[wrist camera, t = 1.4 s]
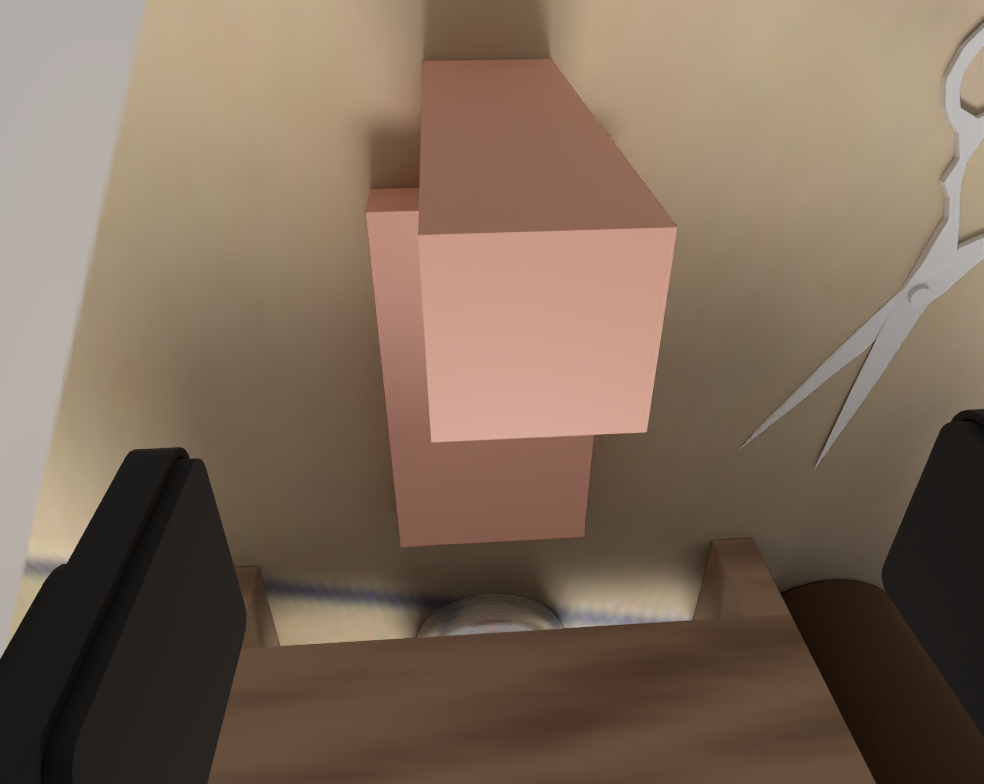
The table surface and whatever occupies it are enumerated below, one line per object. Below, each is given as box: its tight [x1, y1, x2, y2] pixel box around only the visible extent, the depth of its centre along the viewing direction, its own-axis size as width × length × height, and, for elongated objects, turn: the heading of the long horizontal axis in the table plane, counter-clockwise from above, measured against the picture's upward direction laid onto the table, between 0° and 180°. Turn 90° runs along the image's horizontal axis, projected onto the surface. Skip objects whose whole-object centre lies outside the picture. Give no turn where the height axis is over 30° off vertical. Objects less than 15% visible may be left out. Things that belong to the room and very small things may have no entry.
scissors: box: [738, 22, 984, 471], centre depth 28 cm, size 11×1×20 cm
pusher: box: [366, 59, 677, 547], centre depth 22 cm, size 19×8×14 cm, turn 0°
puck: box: [417, 593, 563, 638], centre depth 38 cm, size 8×8×3 cm
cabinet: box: [207, 538, 876, 784], centre depth 30 cm, size 8×26×17 cm, turn 90°
